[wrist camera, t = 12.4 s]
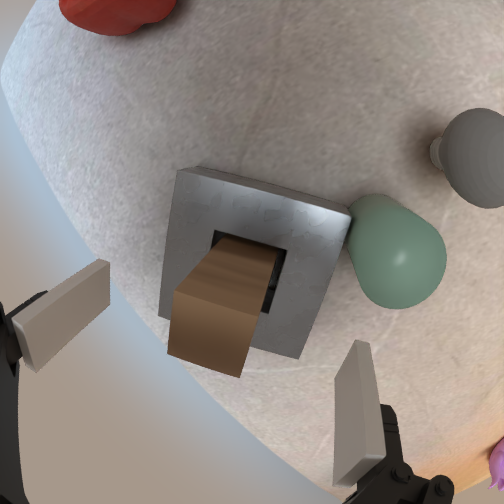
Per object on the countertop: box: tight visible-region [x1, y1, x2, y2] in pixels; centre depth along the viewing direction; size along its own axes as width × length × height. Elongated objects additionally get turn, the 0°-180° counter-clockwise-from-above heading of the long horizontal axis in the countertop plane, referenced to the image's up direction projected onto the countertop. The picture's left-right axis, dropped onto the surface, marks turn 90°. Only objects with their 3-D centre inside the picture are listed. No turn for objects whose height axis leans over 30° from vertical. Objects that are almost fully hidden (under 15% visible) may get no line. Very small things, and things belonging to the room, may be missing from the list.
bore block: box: [158, 166, 352, 359], centre depth 24 cm, size 12×12×4 cm
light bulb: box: [430, 108, 504, 209], centre depth 15 cm, size 6×6×10 cm
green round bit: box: [344, 194, 447, 309], centre depth 19 cm, size 6×6×8 cm
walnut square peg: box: [167, 233, 279, 378], centre depth 20 cm, size 4×4×12 cm
